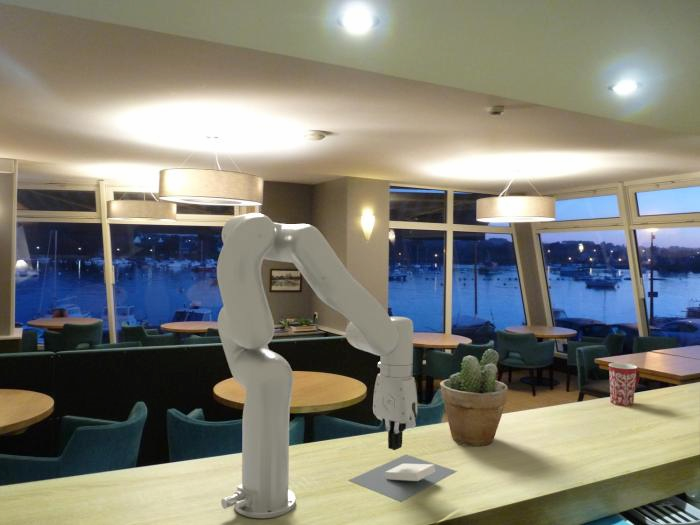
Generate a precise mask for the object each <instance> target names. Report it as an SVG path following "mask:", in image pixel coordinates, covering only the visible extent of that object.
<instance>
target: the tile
mask: <svg viewBox="0 0 700 525" xmlns="http://www.w3.org/2000/svg"><path fill="white" fill-rule="evenodd" d="M434 464H435V463H434ZM434 464H404V463H403V464H401V465H399V466H397V467H395V468H392V469H390V470H388V471H386V472H385V476H386V479H391V480H408V481H419V480H420V479H422V478H424V477H426V476H428V475H430V474H432V473H434V472H435V467H434Z"/></svg>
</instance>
